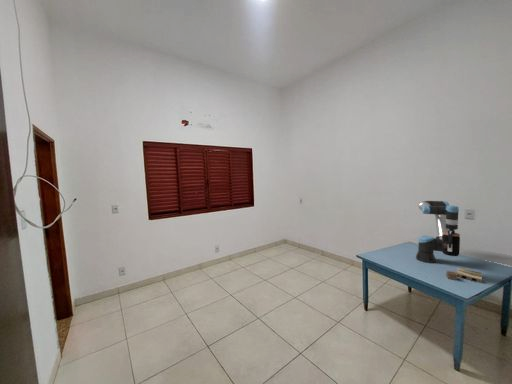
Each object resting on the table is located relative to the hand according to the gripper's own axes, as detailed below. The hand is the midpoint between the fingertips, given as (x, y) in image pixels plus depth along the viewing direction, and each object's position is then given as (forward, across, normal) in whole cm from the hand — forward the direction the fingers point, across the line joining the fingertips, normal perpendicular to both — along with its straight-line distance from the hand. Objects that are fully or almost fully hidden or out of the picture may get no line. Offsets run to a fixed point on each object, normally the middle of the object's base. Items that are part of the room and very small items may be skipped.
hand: (450, 249), depth 176 cm
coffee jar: (+4, 0, 0) cm, 4 cm away
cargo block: (+21, +11, +2) cm, 23 cm away
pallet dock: (+20, -2, +11) cm, 23 cm away
